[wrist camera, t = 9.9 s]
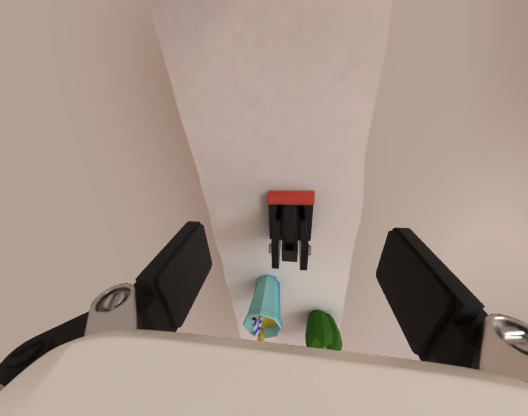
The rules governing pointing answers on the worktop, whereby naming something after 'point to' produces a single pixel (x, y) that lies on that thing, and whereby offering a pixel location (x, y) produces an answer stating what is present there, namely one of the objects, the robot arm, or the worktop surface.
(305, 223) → the bracket
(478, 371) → the robot arm
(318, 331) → the bell pepper
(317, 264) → the worktop surface
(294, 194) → the lever
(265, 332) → the cup
